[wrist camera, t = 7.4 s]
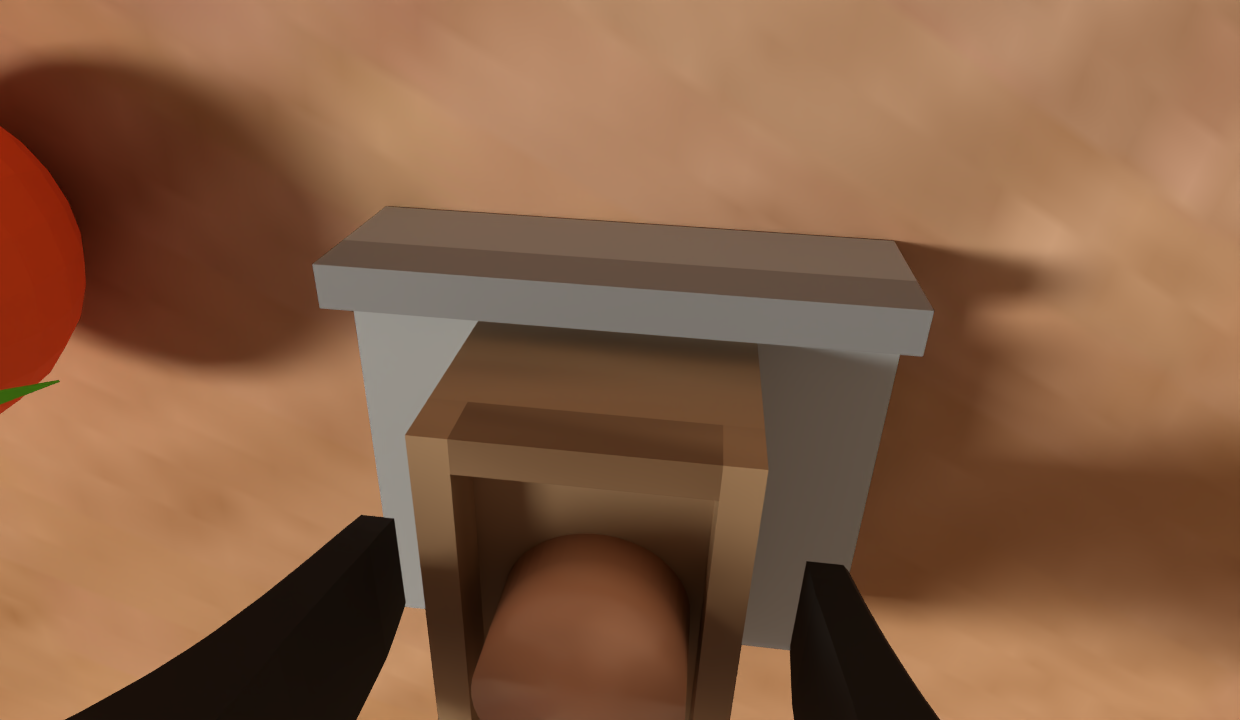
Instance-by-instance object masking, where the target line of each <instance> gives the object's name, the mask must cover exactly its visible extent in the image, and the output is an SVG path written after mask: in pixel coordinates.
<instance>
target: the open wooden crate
mask: <svg viewBox="0 0 1240 720" xmlns="http://www.w3.org/2000/svg"><path fill="white" fill-rule="evenodd" d="M405 441H406V449H407V458H408V466H409V475H410V483H411V492H412V500H413V509H414V517H415V525H416V534H417V542H418V551H419V559H420V568H421V576H422V585H423V593H424V602H425V610H426V618H427V627H428V635H429V644H430V652H431V661H432V669H433V678H434V686H435V695H436V703H437V711H438V720H480V719H479V717H478V716H477V713H476V711H475V708H474V705H473V701H472V695H471V684H472V677H473V674H474V671H475V669H476V666H477V663H478V660H479V657H480V654H481V652H482V649H483V646H484V643H485V640H486V637H487V634H488V632H489V629H490V626H491V623H492V620H493V617H494V615H495V612H496V609H497V606H498V603H499V600H500V598H501V595H502V592H503V589H504V586H505V583H506V581H507V578H508V575H509V573H510V571H511V569H512V567H513V566H514V564H515V563H516V562H517V561H518V559H519V558H520V557H521V556H522V555H523V554H524V553H526V552H527V551H528V550H530V549H531V548H533V547H534V546H536V545H538V544H540V543H542V542H544V541H546V540H549V539H552V538H555V537H560V536H565V535H571V534H600V535H608V536H612V537H617V538H620V539H623V540H627V541H630V542H632V543H635V544H637V545H639V546H641V547H643V548H645V549H647V550H649V551H650V552H652V553H654V554H655V555H656V556H658V557H659V558H660V559H662V560H663V561H664V562H665V563H666V564H667V565H668V566H669V567H670V568H671V569H672V570H673V571H674V572H675V574H676V575H677V576H678V578H679V579H680V581H681V583H682V584H683V586H684V588H685V591H686V593H687V596H688V600H689V604H690V631H689V651H688V672H687V692H686V713H685V720H730V716H731V709H732V703H733V696H734V690H735V684H736V677H737V671H738V664H739V658H740V651H741V645H742V638H743V632H744V626H745V619H746V613H747V606H748V600H749V593H750V587H751V580H752V574H753V567H754V561H755V555H756V548H757V542H758V535H759V529H760V522H761V516H762V509H763V503H764V496H765V490H766V484H767V477H768V471H769V469H768V458H767V446H766V435H765V424H764V412H763V401H762V390H761V378H760V367H759V356H758V344H757V343H747V342H735V341H722V340H710V339H697V338H685V337H672V336H660V335H647V334H635V333H622V332H610V331H597V330H585V329H572V328H560V327H547V326H535V325H522V324H510V323H497V322H485V321H478V322H477V324H476V325H475V327H474V328H473V330H472V331H471V333H470V334H469V336H468V338H467V339H466V341H465V342H464V344H463V345H462V347H461V349H460V350H459V352H458V353H457V355H456V356H455V358H454V359H453V361H452V363H451V364H450V366H449V367H448V369H447V370H446V372H445V373H444V375H443V377H442V378H441V380H440V381H439V383H438V384H437V386H436V387H435V389H434V391H433V392H432V394H431V395H430V397H429V398H428V400H427V401H426V403H425V405H424V406H423V408H422V409H421V411H420V412H419V414H418V415H417V417H416V419H415V420H414V422H413V423H412V425H411V426H410V428H409V429H408V431H407V433H406V434H405Z"/></svg>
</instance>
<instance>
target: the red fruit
mask: <svg viewBox="0 0 1240 720" xmlns="http://www.w3.org/2000/svg"><path fill="white" fill-rule="evenodd" d="M85 288H86V277H85V261H84V254H83V246H82V239H81V233H80V230H79V228H78V225H77V223H76V220H75V217H74V215H73V212H72V210H71V207H70V205H69V202H68V201H67V199H66V197H65V196H64V194H63V193H62V191H61V190H60V188H59V187H58V185H57V183H56V182H55V180H54V179H53V177H52V176H51V174H50V173H49V171H48V170H47V169H46V168H45V167H44V166H43V165H42V163H41V162H40V161H39V160H38V159H37V158H36V157H35V156H34V155H33V154H32V153H31V152H30V151H29V150H28V148H27V147H26V146H25V145H24V144H23V143H22V142H21V141H19V140H18V139H17V138H15V137H14V136H13V135H11V134H10V133H9V132H7V131H6V130H5V129H3V128H2V127H1V126H0V414H1V413H2V412H3V411H5V410H6V409H8V408H9V407H10V406H12V405H13V404H14V403H16V402H17V401H19V400H20V399H21V398H22V397H23V396H24V395H26V394H29V393H32V392H34V391H37V390H39V389H42V388H45V387H47V386H50V385H52V384H55V383H58V382H60V381H59V380H56V381H50V382H44V383H39V382H40V381H41V380H42V379H43V378H44V377H46V376H47V375H48V374H49V373H50V372H51V370H52V369H53V367H54V365H55V364H56V362H57V360H58V358H59V357H60V355H61V353H62V352H63V350H64V348H65V346H66V345H67V343H68V341H69V339H70V337H71V335H72V333H73V331H74V329H75V327H76V325H77V323H78V321H79V319H80V317H81V313H82V306H83V300H84V294H85Z"/></svg>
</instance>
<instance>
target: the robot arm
mask: <svg viewBox="0 0 1240 720" xmlns="http://www.w3.org/2000/svg"><path fill="white" fill-rule="evenodd" d="M405 604H406V600H405V593H404V586H403V579H402V571H401V564H400V557H399V550H398V542H397V535H396V528H395V520H394V518H385V517H375V516H366V515H361V516H359V517H358V518H357V519H356V520H355V521H353V522H352V523H351V524H350V525H348V526H347V527H346V528H345V529H343V530H342V531H341V532H340V533H339V534H337V535H336V536H335V537H334V538H333V539H331V540H330V541H329V542H328V543H327V544H325V545H324V546H323V547H322V548H321V549H319V550H318V551H317V552H316V553H315V554H313V555H312V556H311V557H310V558H309V559H307V560H306V561H305V562H304V563H303V564H301V565H300V566H299V567H298V568H297V569H295V570H294V571H293V572H292V573H290V574H289V575H288V576H287V577H285V578H284V579H283V580H282V581H280V582H279V583H278V584H277V585H275V586H274V587H273V588H272V589H270V590H269V591H268V592H267V593H265V594H264V595H263V596H262V597H260V598H259V599H258V600H256V601H255V602H254V603H252V604H251V605H250V606H248V607H247V608H245V609H244V610H243V611H241V612H240V613H239V614H237V615H236V616H235V617H233V618H232V619H231V620H229V621H228V622H227V623H225V624H224V625H222V626H221V627H220V628H218V629H217V630H216V631H214V632H213V633H211V634H210V635H208V636H207V637H206V638H204V639H203V640H201V641H200V642H198V643H197V644H195V645H194V646H192V647H191V648H189V649H188V650H186V651H184V652H183V653H181V654H180V655H178V656H177V657H175V658H173V659H172V660H170V661H169V662H167V663H165V664H164V665H162V666H161V667H159V668H157V669H156V670H154V671H153V672H151V673H149V674H148V675H146V676H144V677H142V678H141V679H139V680H137V681H135V682H134V683H132V684H130V685H128V686H126V687H125V688H123V689H121V690H119V691H117V692H116V693H114V694H112V695H110V696H108V697H107V698H105V699H103V700H101V701H99V702H98V703H96V704H94V705H92V706H90V707H89V708H87V709H85V710H83V711H81V712H79V713H77V714H75V715H73V716H71V717H69V718H67V719H65V720H356V719H357V717H358V715H359V713H360V711H361V709H362V707H363V705H364V703H365V701H366V699H367V697H368V695H369V693H370V691H371V689H372V687H373V685H374V683H375V681H376V679H377V677H378V675H379V673H380V671H381V669H382V667H383V664H384V662H385V660H386V658H387V656H388V653H389V650H390V648H391V645H392V642H393V639H394V637H395V634H396V631H397V628H398V625H399V622H400V619H401V616H402V613H403V610H404V607H405ZM790 664H791V689H792V707H793V714H794V720H940V719H939V718H938V716H937V715H936V714H935V712H934V711H933V709H932V708H931V707H930V705H929V704H928V702H927V701H926V700H925V698H924V697H923V695H922V694H921V692H920V691H919V689H918V688H917V687H916V685H915V684H914V682H913V681H912V679H911V678H910V676H909V675H908V673H907V671H906V670H905V668H904V667H903V665H902V664H901V662H900V660H899V659H898V657H897V656H896V654H895V653H894V651H893V649H892V648H891V646H890V645H889V643H888V641H887V640H886V638H885V636H884V635H883V633H882V631H881V630H880V628H879V626H878V625H877V623H876V621H875V619H874V618H873V616H872V614H871V612H870V611H869V609H868V607H867V605H866V603H865V602H864V600H863V598H862V596H861V594H860V592H859V590H858V589H857V587H856V585H855V583H854V581H853V579H852V577H851V575H850V573H849V571H848V570H847V569H846V567H845V566H844V565H839V564H830V563H820V562H810V561H806V566H805V571H804V576H803V582H802V587H801V592H800V597H799V602H798V607H797V612H796V618H795V623H794V628H793V633H792V638H791V643H790Z"/></svg>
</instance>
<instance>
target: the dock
mask: <svg viewBox="0 0 1240 720" xmlns="http://www.w3.org/2000/svg"><path fill="white" fill-rule="evenodd" d="M312 265H313V271H314V277H315V283H316V289H317V295H318V301H319V307H320V308H323V309H335V310H348V311H354V317H355V323H356V330H357V337H358V344H359V351H360V358H361V365H362V372H363V378H364V385H365V392H366V399H367V406H368V413H369V420H370V427H371V433H372V440H373V447H374V454H375V461H376V468H377V475H378V482H379V488H380V495H381V502H382V509H383V516H384V517H385V518H394V520H395V528H396V535H397V542H398V550H399V557H400V564H401V571H402V579H403V586H404V593H405V600H406V604H405V607H412V608H421V609H425V602H424V593H423V585H422V576H421V568H420V559H419V551H418V542H417V534H416V525H415V517H414V509H413V500H412V492H411V483H410V475H409V466H408V458H407V449H406V441H405V434H406V433H407V431H408V429H409V428H410V426H411V425H412V423H413V422H414V420H415V419H416V417H417V415H418V414H419V412H420V411H421V409H422V408H423V406H424V405H425V403H426V401H427V400H428V398H429V397H430V395H431V394H432V392H433V391H434V389H435V387H436V386H437V384H438V383H439V381H440V380H441V378H442V377H443V375H444V373H445V372H446V370H447V369H448V367H449V366H450V364H451V363H452V361H453V359H454V358H455V356H456V355H457V353H458V352H459V350H460V349H461V347H462V345H463V344H464V342H465V341H466V339H467V338H468V336H469V334H470V333H471V331H472V330H473V328H474V327H475V325H476V324H477V322H478V321H485V322H497V323H510V324H522V325H535V326H547V327H560V328H572V329H585V330H597V331H610V332H622V333H635V334H647V335H660V336H672V337H685V338H697V339H710V340H722V341H735V342H747V343H757V344H758V356H759V367H760V378H761V390H762V401H763V412H764V424H765V435H766V446H767V458H768V469H769V471H768V477H767V484H766V490H765V496H764V503H763V509H762V516H761V522H760V529H759V535H758V542H757V548H756V555H755V561H754V567H753V574H752V580H751V587H750V593H749V600H748V606H747V613H746V619H745V626H744V632H743V638H742V645H747V646H756V647H765V648H774V649H783V650H790V643H791V638H792V633H793V628H794V623H795V618H796V612H797V607H798V602H799V597H800V592H801V587H802V582H803V576H804V571H805V566H806V561H810V562H820V563H830V564H839V565H844V566H845V567H846V569H847V570H848V571H849V573H850V569H851V565H852V560H853V556H854V552H855V547H856V543H857V539H858V534H859V530H860V526H861V521H862V517H863V513H864V508H865V504H866V500H867V495H868V491H869V487H870V483H871V478H872V474H873V470H874V465H875V461H876V457H877V452H878V448H879V444H880V439H881V435H882V431H883V426H884V422H885V418H886V413H887V409H888V405H889V400H890V396H891V392H892V388H893V383H894V379H895V375H896V370H897V366H898V362H899V357H900V355H909V356H922V357H923V354H924V350H925V346H926V342H927V338H928V334H929V330H930V326H931V322H932V318H933V314H934V310H933V308H932V306H931V304H930V303H929V301H928V299H927V297H926V296H925V294H924V292H923V290H922V289H921V287H920V285H919V284H918V282H917V280H916V278H915V277H914V275H913V273H912V271H911V270H910V268H909V266H908V264H907V263H906V261H905V259H904V257H903V256H902V254H901V252H900V250H899V249H898V247H897V245H896V243H895V242H894V241H888V240H873V239H859V238H844V237H829V236H815V235H800V234H785V233H770V232H756V231H741V230H726V229H711V228H697V227H682V226H667V225H652V224H638V223H623V222H608V221H594V220H579V219H564V218H549V217H535V216H520V215H505V214H490V213H476V212H461V211H446V210H431V209H417V208H402V207H387V206H386V207H384V208H383V209H382V210H380V211H379V212H378V213H377V214H375V215H374V216H373V217H372V218H370V219H369V220H368V221H367V222H365V223H364V224H363V225H361V226H360V227H359V228H358V229H356V230H355V231H354V232H353V233H351V234H350V235H349V236H348V237H346V238H345V239H344V240H342V241H341V242H340V243H339V244H337V245H336V246H335V247H334V248H332V249H331V250H330V251H328V252H327V253H326V254H325V255H323V256H322V257H321V258H320V259H318V260H317V261H316V262H315V263H313V264H312Z"/></svg>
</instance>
